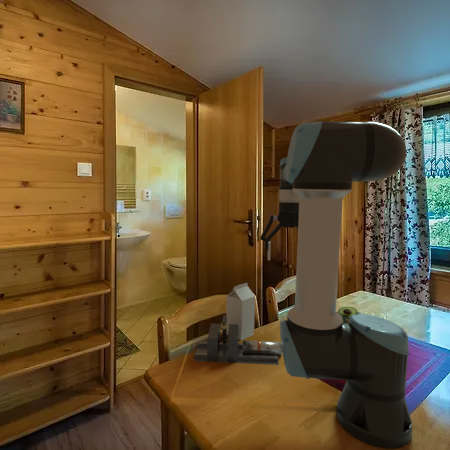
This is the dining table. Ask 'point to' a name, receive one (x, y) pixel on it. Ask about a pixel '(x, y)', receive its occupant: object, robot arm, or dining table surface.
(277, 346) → the tube
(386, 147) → the robot arm
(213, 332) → the collar rail
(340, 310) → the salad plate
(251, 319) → the milk carton
